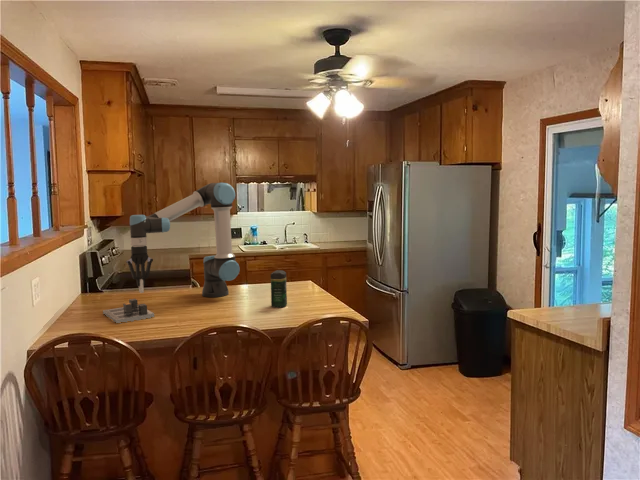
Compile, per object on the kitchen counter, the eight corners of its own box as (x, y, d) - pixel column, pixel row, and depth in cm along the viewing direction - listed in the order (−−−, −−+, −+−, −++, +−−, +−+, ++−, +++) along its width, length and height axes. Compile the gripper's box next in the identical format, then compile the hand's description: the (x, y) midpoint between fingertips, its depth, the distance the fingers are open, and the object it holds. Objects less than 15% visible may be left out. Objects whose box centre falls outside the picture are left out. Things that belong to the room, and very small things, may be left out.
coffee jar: (285, 308, 262) (284, 272, 259) (270, 308, 262) (268, 272, 260) (288, 303, 271) (287, 269, 269) (273, 303, 272) (272, 269, 270)
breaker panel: (103, 314, 258) (102, 302, 258) (139, 308, 269) (138, 297, 268) (116, 324, 239) (115, 311, 238) (154, 317, 250) (153, 305, 249)
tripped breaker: (123, 311, 254) (123, 303, 254) (129, 310, 256) (129, 302, 256) (126, 313, 251) (125, 304, 251) (132, 311, 253) (131, 303, 253)
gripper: (127, 247, 248) (130, 295, 250) (154, 245, 255) (156, 291, 258) (123, 246, 254) (125, 292, 256) (149, 244, 261) (151, 289, 264)
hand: (141, 292), depth 257 cm, fingers closed
